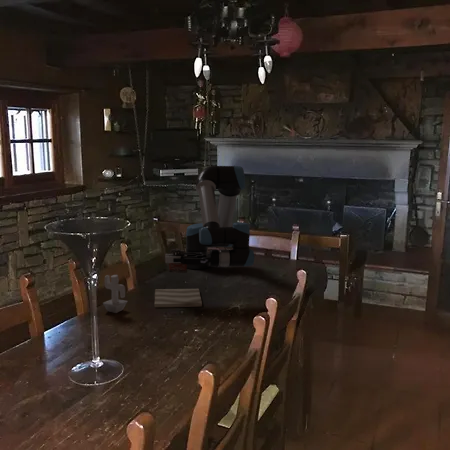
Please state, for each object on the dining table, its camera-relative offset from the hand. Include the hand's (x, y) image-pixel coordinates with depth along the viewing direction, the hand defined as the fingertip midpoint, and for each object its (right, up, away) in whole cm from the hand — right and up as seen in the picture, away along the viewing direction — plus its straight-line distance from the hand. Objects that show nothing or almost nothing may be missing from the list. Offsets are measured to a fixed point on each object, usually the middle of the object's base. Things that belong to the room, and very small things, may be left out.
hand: (165, 258), depth 219 cm
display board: (+5, -18, +4) cm, 19 cm away
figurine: (-19, -21, -12) cm, 31 cm away
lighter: (+5, -6, +2) cm, 8 cm away
